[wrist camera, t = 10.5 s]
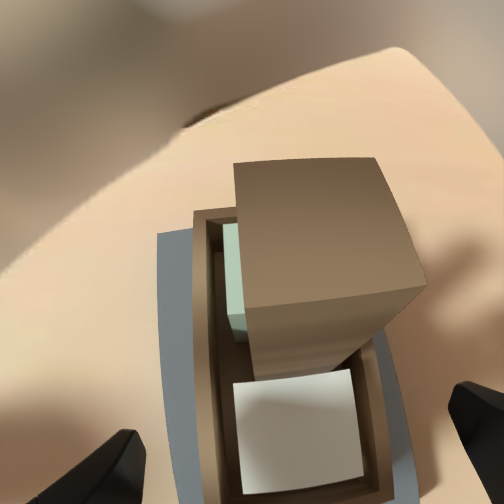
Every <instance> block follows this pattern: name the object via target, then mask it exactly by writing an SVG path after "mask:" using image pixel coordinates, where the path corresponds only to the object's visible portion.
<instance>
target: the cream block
mask: <svg viewBox="0 0 504 504" xmlns="http://www.w3.org/2000/svg"><path fill="white" fill-rule="evenodd" d="M233 388H234V401H235V413H236V425H237V436H238V447H239V457H240V468H241V478H242V487H243V494H255V493H267V492H277V491H286V490H294V489H301V488H307V487H313V486H319V485H324V484H329V483H334V482H339V481H343V480H348V479H352V478H356V477H360V476H364V474H363V464H362V454H361V445H360V437H359V429H358V421H357V414H356V407H355V400H354V393H353V387H352V380H351V374H350V369H346V370H340V371H335V372H328V373H322V374H316V375H309V376H302V377H294V378H286V379H277V380H268V381H257V382H246V383H233Z"/></svg>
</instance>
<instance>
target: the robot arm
mask: <svg viewBox="0 0 504 504" xmlns="http://www.w3.org/2000/svg"><path fill="white" fill-rule="evenodd" d="M448 411H449V414H450V416H451V418H452V420H453V423H454V425H455V428H456V430H457V432H458V435H459V437H460V440H461V442H462V444H463V447H464V449H465V451H466V453H467V455H468V457H469V459H470V460H471V462H472V464H473V466H474V468H475V470H476V472H477V474H478V476H479V478H480V480H481V482H482V484H483V486H484V488H485V490H486V492H487V494H488V496H489V498H490V500H491V503H492V504H504V393H501V392H498V391H495V390H492V389H489V388H487V387H484V386H481V385H478V384H475V383H473V382H470V381H463V382H461V383H458V384H456V385H455V387H454V389H453V392H452V395H451V398H450V401H449V404H448ZM145 463H146V450H145V447H144V445H143V443H142V441H141V438H140V436H139V434H138V432H137V431H136V430H133V429H121V430H119V431H118V432H117V433H116V434H115V435H113V436H112V437H111V438H110V439H109V440H107V441H106V442H105V443H104V444H102V445H101V446H100V447H99V448H98V449H96V450H95V451H94V452H93V453H91V454H90V455H89V456H88V457H86V458H85V459H84V460H83V461H81V462H80V463H79V464H78V465H76V466H75V467H74V468H73V469H71V470H70V471H69V472H67V473H66V474H65V475H64V476H62V477H61V478H60V479H58V480H57V481H56V482H55V483H53V484H52V485H51V486H49V487H48V488H47V489H45V490H44V491H43V492H41V493H40V494H39V495H38V497H34V498H33V499H32V500H30V501H29V502H28V503H26V504H142V497H143V485H144V474H145Z"/></svg>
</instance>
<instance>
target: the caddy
mask: <svg viewBox="0 0 504 504" xmlns="http://www.w3.org/2000/svg"><path fill="white" fill-rule="evenodd" d="M233 167H234V181H235V195H236V207H228V208H217V209H207V210H197V211H194V217H193V262H192V314H193V358H194V384H195V403H196V420H197V434H198V447H199V459H200V470H201V480H202V489H203V498H204V504H382V503H385V502H388V501H391V500H394V499H395V496H394V481H393V469H392V458H391V448H390V440H389V432H388V424H387V417H386V410H385V403H384V397H383V390H382V385H381V379H380V373H379V368H378V362H377V357H376V352H375V347H374V342H373V336H374V335H375V334H376V333H377V332H378V331H380V330H381V329H382V328H383V327H384V326H385V325H386V324H387V323H388V322H390V321H391V320H392V319H393V318H394V317H395V316H396V315H397V314H398V313H399V312H400V311H401V310H402V309H403V308H405V307H406V306H407V305H408V304H409V303H410V302H411V301H412V300H413V299H414V298H415V297H416V296H417V295H418V294H419V293H420V292H421V291H422V290H423V289H424V288H425V287H426V286H427V285H428V284H427V281H426V278H425V275H424V272H423V270H422V267H421V264H420V261H419V258H418V256H417V253H416V250H415V247H414V245H413V242H412V240H411V237H410V235H409V232H408V230H407V227H406V225H405V222H404V220H403V217H402V215H401V213H400V210H399V208H398V206H397V203H396V201H395V199H394V197H393V195H392V192H391V190H390V188H389V186H388V184H387V182H386V180H385V177H384V175H383V173H382V171H381V169H380V167H379V165H378V163H377V161H376V159H375V158H310V159H287V160H270V161H256V162H243V163H233ZM234 223H238V236H239V249H240V262H241V275H242V287H243V300H244V310H245V317H246V324H247V331H248V337H249V342H237V343H236V341H235V338H234V335H233V331H232V328H231V325H230V321H229V318H228V315H227V298H226V279H225V259H224V237H223V224H234ZM346 369H350V374H351V380H352V387H353V393H354V400H355V407H356V414H357V421H358V429H359V437H360V445H361V454H362V464H363V474H364V476H360V477H356V478H352V479H348V480H343V481H339V482H334V483H329V484H324V485H319V486H313V487H307V488H301V489H294V490H286V491H277V492H267V493H255V494H243V487H242V478H241V468H240V457H239V447H238V436H237V425H236V413H235V401H234V388H233V383H246V382H257V381H268V380H277V379H286V378H294V377H302V376H309V375H316V374H322V373H328V372H335V371H340V370H346Z"/></svg>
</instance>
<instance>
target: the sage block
mask: <svg viewBox="0 0 504 504" xmlns="http://www.w3.org/2000/svg"><path fill="white" fill-rule="evenodd" d="M223 237H224V259H225V279H226V298H227V315H228V318H229V321H230V325H231V328H232V331H233V335H234V338H235V341H236V343H237V342H249V337H248V331H247V324H246V317H245V310H244V300H243V287H242V275H241V262H240V249H239V236H238V223H234V224H223Z"/></svg>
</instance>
